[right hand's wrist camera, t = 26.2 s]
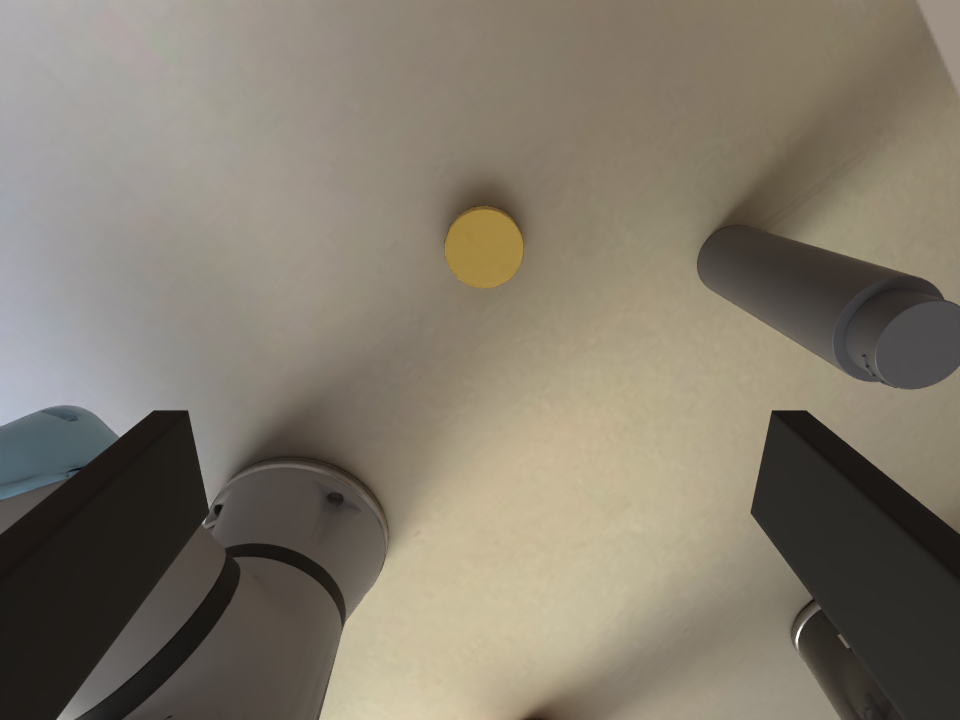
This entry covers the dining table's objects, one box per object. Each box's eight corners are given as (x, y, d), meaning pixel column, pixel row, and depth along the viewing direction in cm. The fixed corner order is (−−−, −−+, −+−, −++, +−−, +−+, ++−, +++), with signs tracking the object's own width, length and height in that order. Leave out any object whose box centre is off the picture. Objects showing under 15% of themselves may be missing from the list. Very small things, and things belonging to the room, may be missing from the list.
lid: (535, 260, 40) (538, 266, 38) (468, 294, 41) (467, 303, 39) (500, 190, 38) (502, 193, 36) (431, 228, 39) (429, 233, 37)
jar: (691, 291, 41) (846, 398, 24) (704, 223, 39) (883, 283, 22) (757, 295, 41) (961, 404, 24) (774, 226, 39) (1007, 290, 22)
